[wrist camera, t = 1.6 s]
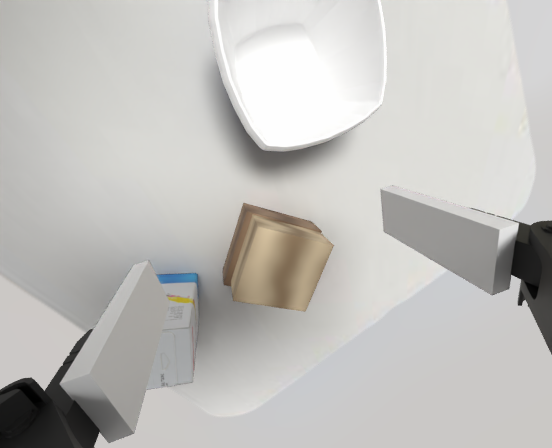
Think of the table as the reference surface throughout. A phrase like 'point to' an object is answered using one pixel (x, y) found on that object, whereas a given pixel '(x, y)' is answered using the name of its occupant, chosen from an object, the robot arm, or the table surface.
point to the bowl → (300, 66)
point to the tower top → (279, 264)
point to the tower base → (242, 230)
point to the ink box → (177, 333)
